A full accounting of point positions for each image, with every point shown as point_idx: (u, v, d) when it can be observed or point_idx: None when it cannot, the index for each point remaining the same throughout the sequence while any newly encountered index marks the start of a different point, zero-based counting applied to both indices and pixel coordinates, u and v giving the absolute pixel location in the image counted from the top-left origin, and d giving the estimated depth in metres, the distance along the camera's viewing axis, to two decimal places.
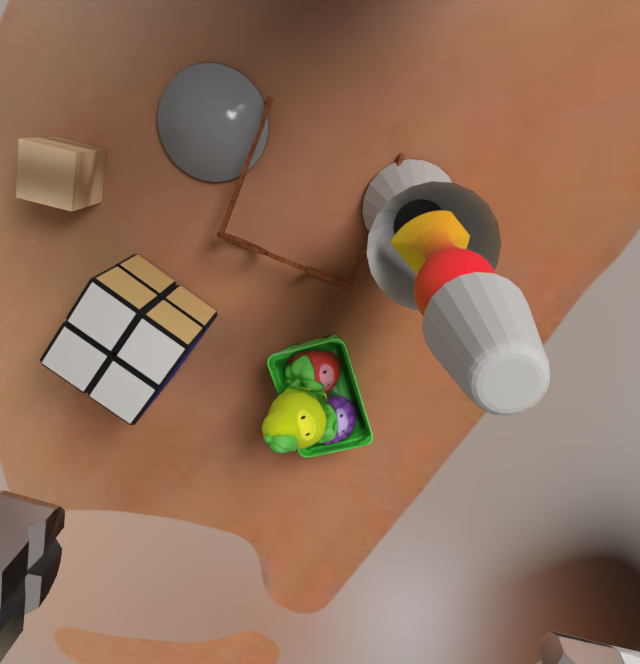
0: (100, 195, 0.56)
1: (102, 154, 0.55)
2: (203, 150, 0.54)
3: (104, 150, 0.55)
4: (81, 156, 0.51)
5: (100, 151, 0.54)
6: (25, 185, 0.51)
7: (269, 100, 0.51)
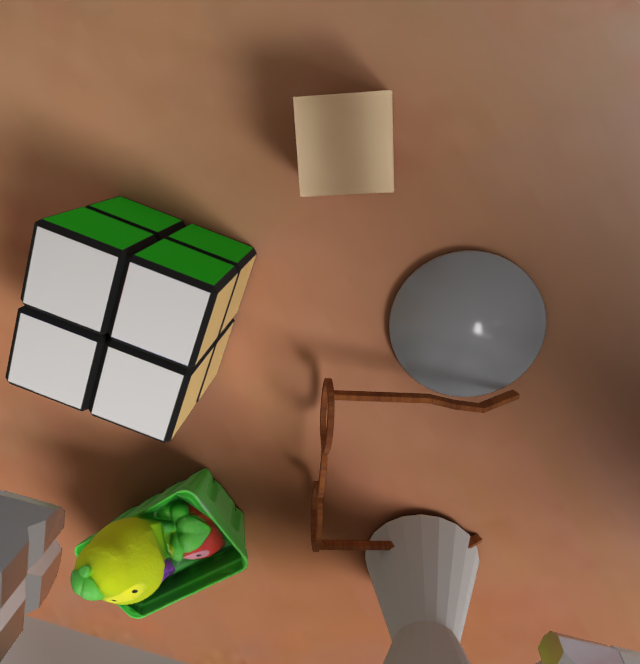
0: None
1: None
2: (429, 322, 0.39)
3: None
4: None
5: None
6: (318, 112, 0.30)
7: (514, 398, 0.39)
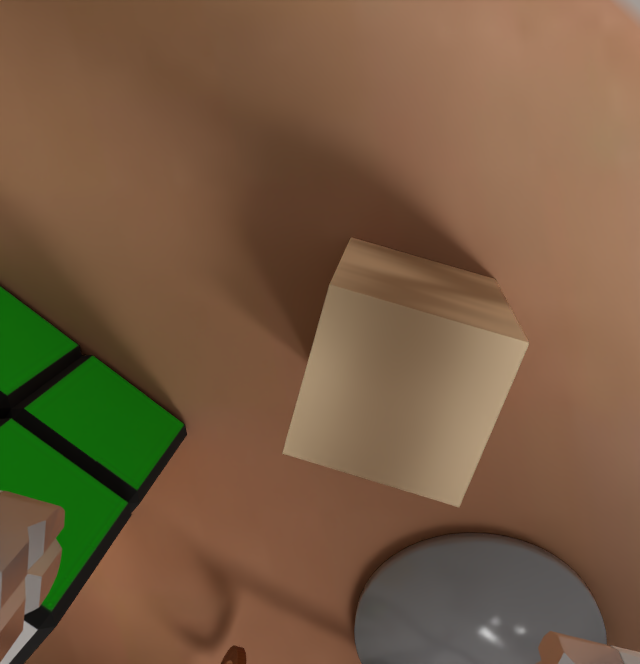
0: None
1: None
2: (423, 618, 0.24)
3: None
4: None
5: None
6: (368, 329, 0.15)
7: None
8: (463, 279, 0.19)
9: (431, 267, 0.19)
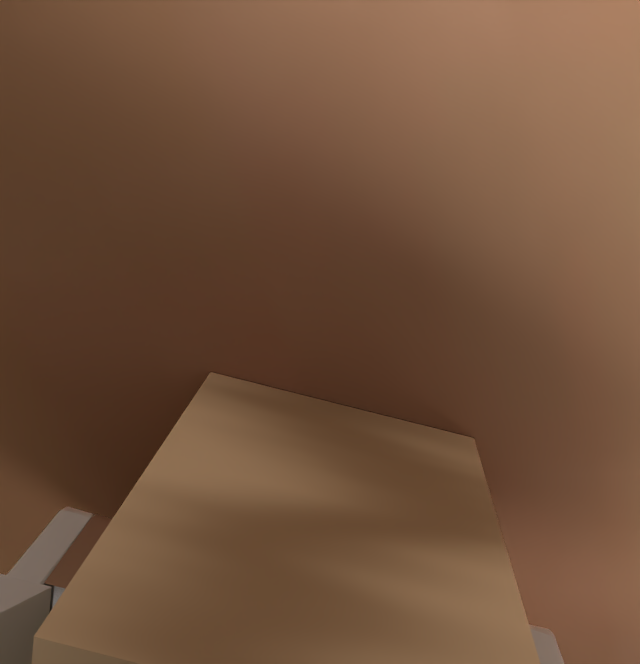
0: None
1: None
2: None
3: None
4: None
5: None
6: None
7: None
8: (414, 464, 0.10)
9: (353, 438, 0.10)
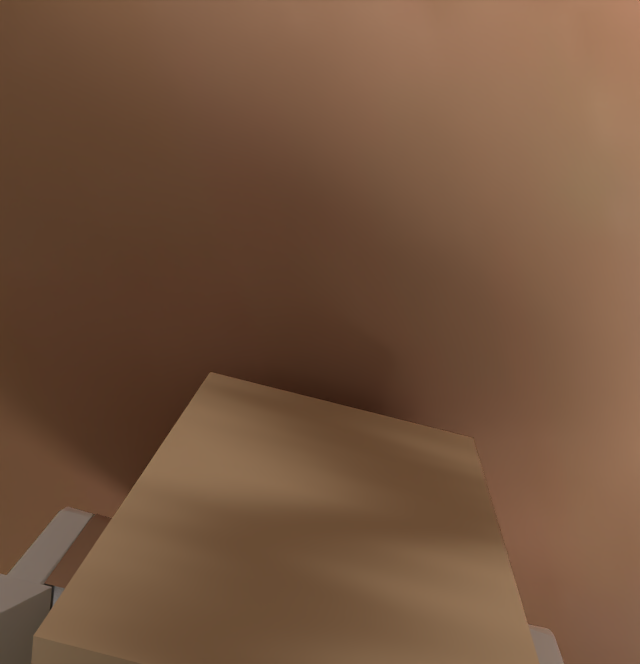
0: None
1: None
2: None
3: None
4: None
5: None
6: None
7: None
8: (413, 463, 0.10)
9: (352, 438, 0.10)
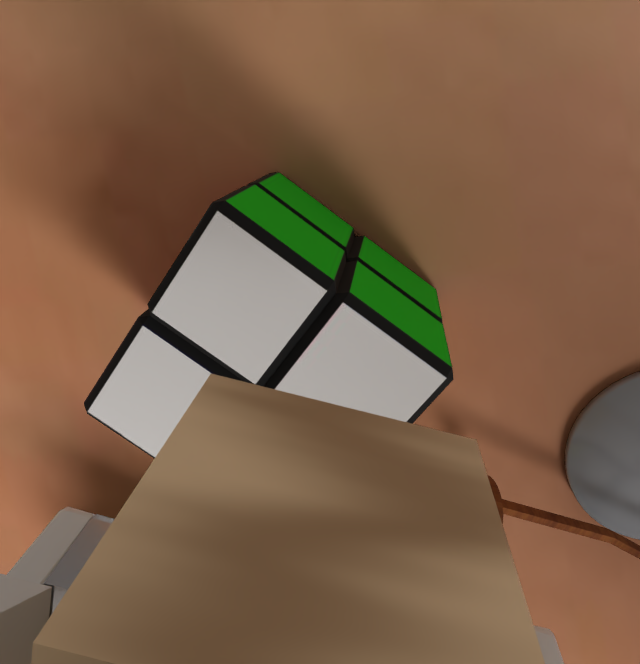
0: None
1: None
2: (627, 442, 0.30)
3: None
4: None
5: None
6: None
7: None
8: (416, 466, 0.10)
9: (354, 440, 0.10)
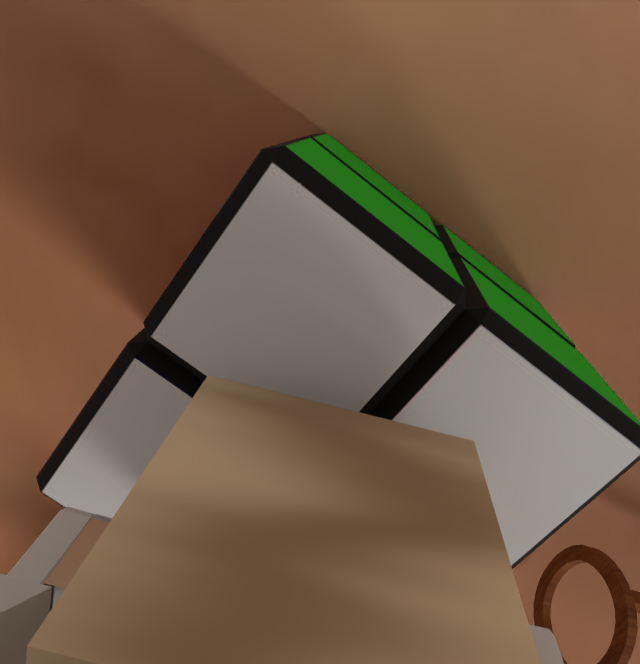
0: None
1: None
2: None
3: None
4: None
5: None
6: None
7: None
8: (413, 467, 0.10)
9: (352, 441, 0.10)
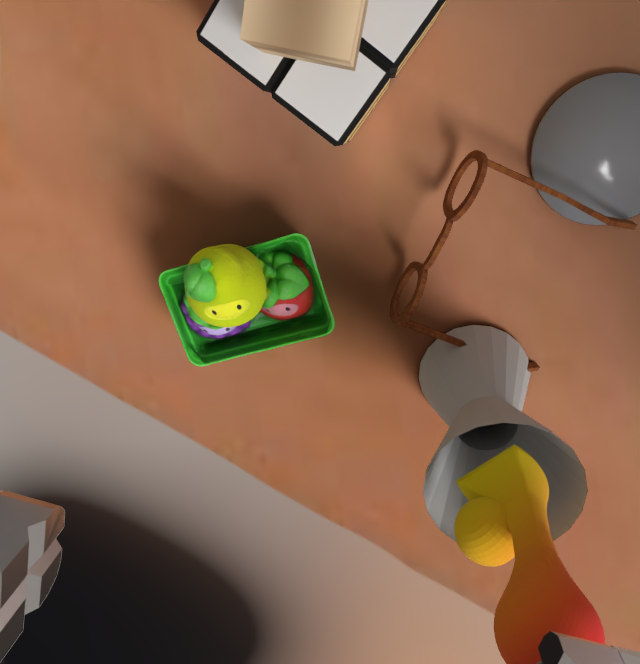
0: (275, 54, 0.32)
1: (347, 68, 0.31)
2: (575, 137, 0.41)
3: (352, 70, 0.32)
4: (342, 61, 0.27)
5: (352, 68, 0.31)
6: None
7: (632, 226, 0.41)
8: None
9: None
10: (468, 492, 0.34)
